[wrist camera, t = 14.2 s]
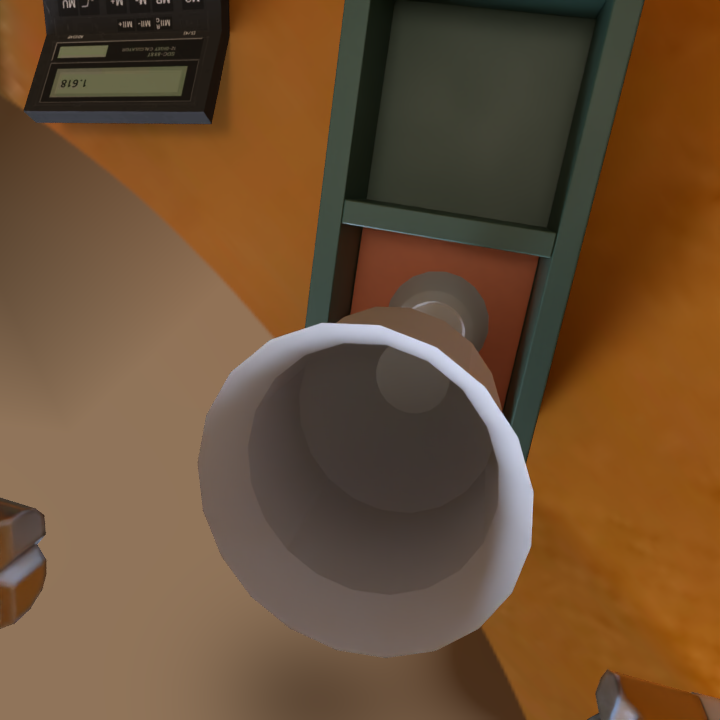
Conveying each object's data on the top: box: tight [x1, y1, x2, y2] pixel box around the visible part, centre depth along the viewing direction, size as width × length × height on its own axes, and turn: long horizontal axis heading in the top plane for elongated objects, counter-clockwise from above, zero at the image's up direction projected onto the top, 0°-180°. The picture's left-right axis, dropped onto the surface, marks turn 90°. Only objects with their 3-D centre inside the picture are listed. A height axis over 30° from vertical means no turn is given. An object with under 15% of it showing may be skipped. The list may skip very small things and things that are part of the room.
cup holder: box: [305, 0, 645, 464], centre depth 25 cm, size 10×20×5 cm, turn 171°
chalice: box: [198, 272, 534, 658], centre depth 20 cm, size 7×7×18 cm
